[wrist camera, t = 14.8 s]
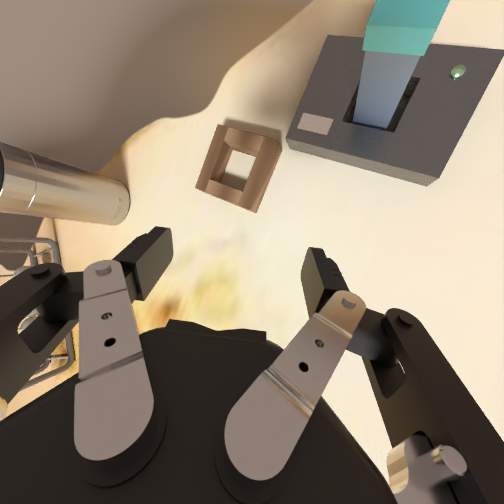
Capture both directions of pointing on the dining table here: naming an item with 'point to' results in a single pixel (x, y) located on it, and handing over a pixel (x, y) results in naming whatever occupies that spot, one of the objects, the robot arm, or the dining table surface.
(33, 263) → the newton's cradle
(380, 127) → the plug
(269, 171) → the holster
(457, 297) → the dining table surface
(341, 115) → the port panel
